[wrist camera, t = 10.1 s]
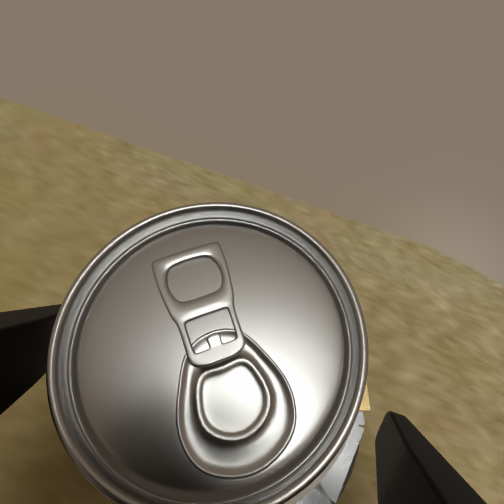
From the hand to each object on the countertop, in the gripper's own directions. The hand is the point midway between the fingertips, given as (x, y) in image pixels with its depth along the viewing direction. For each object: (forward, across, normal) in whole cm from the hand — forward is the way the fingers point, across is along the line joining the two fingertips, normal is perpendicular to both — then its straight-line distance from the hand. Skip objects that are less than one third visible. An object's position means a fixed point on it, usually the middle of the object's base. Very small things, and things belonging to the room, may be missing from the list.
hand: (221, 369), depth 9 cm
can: (+6, 0, +6) cm, 8 cm away
